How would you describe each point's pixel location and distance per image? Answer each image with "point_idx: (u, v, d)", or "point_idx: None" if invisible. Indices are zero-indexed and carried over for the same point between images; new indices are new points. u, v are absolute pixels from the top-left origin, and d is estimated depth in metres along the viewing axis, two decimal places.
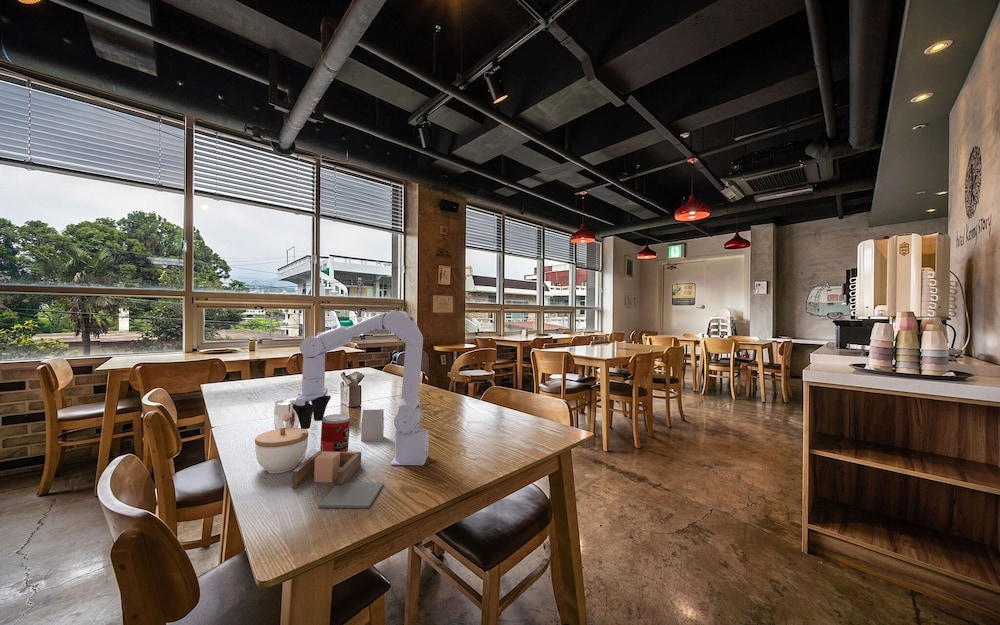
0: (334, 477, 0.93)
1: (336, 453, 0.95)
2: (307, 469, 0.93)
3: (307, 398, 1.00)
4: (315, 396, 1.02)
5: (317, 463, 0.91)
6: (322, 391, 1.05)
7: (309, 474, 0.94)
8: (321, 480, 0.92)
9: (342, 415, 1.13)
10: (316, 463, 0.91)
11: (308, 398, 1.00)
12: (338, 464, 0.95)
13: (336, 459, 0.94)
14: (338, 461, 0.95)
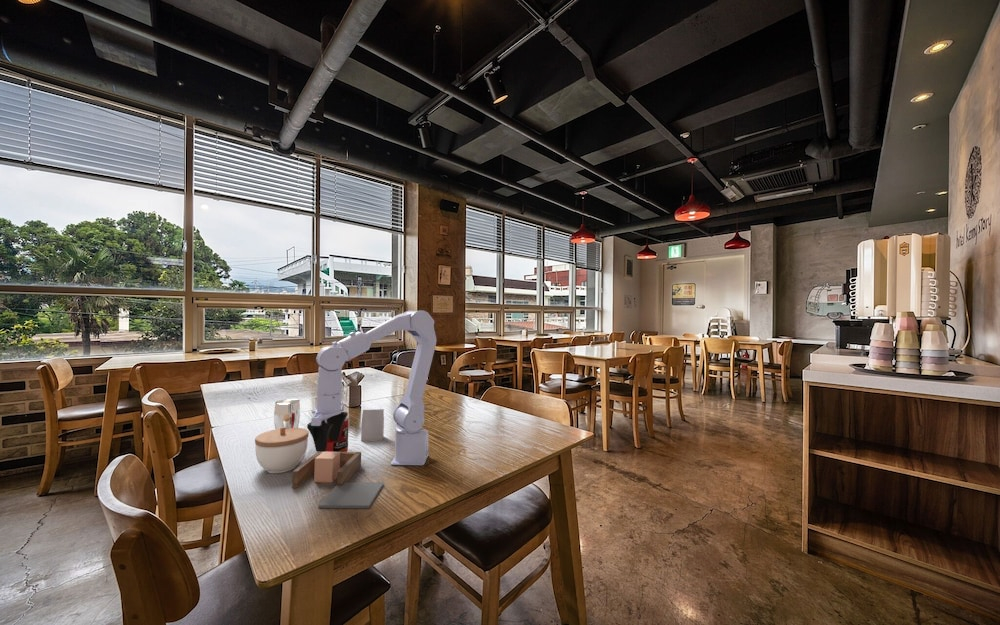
0: (334, 477, 0.93)
1: (336, 453, 0.95)
2: (307, 469, 0.93)
3: (323, 417, 0.88)
4: (332, 414, 0.91)
5: (317, 463, 0.91)
6: (339, 408, 0.94)
7: (309, 474, 0.94)
8: (321, 480, 0.92)
9: None
10: (316, 463, 0.91)
11: (324, 417, 0.89)
12: (338, 464, 0.95)
13: (336, 459, 0.94)
14: (338, 461, 0.95)
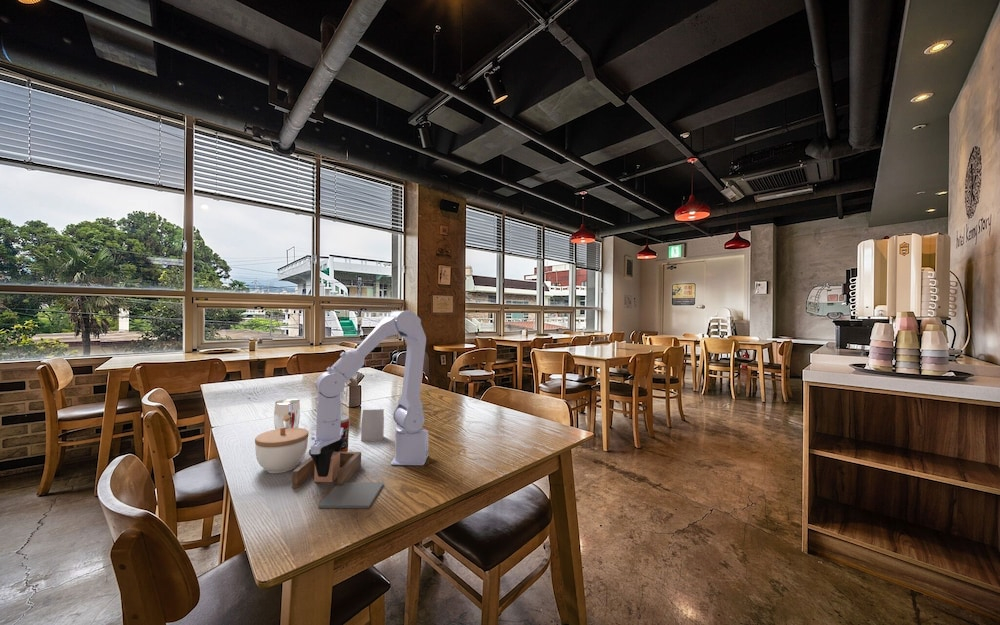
0: (334, 477, 0.93)
1: (336, 453, 0.95)
2: (307, 469, 0.93)
3: (323, 445, 0.88)
4: (331, 441, 0.91)
5: None
6: (338, 434, 0.94)
7: (309, 474, 0.94)
8: (321, 480, 0.92)
9: (341, 415, 1.13)
10: None
11: (324, 445, 0.89)
12: (338, 464, 0.95)
13: (336, 459, 0.94)
14: (338, 461, 0.95)
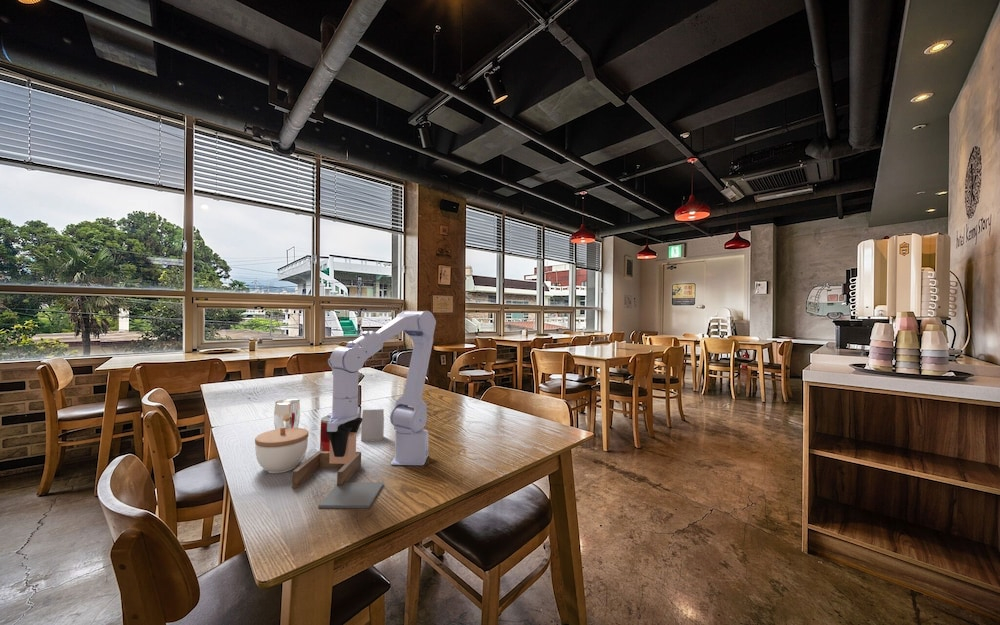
0: (350, 458, 0.87)
1: (352, 433, 0.89)
2: (307, 469, 0.93)
3: (340, 422, 0.83)
4: (348, 419, 0.85)
5: None
6: (356, 412, 0.88)
7: (309, 474, 0.94)
8: (336, 461, 0.86)
9: None
10: None
11: (341, 422, 0.83)
12: (354, 445, 0.89)
13: (352, 439, 0.88)
14: (354, 442, 0.89)
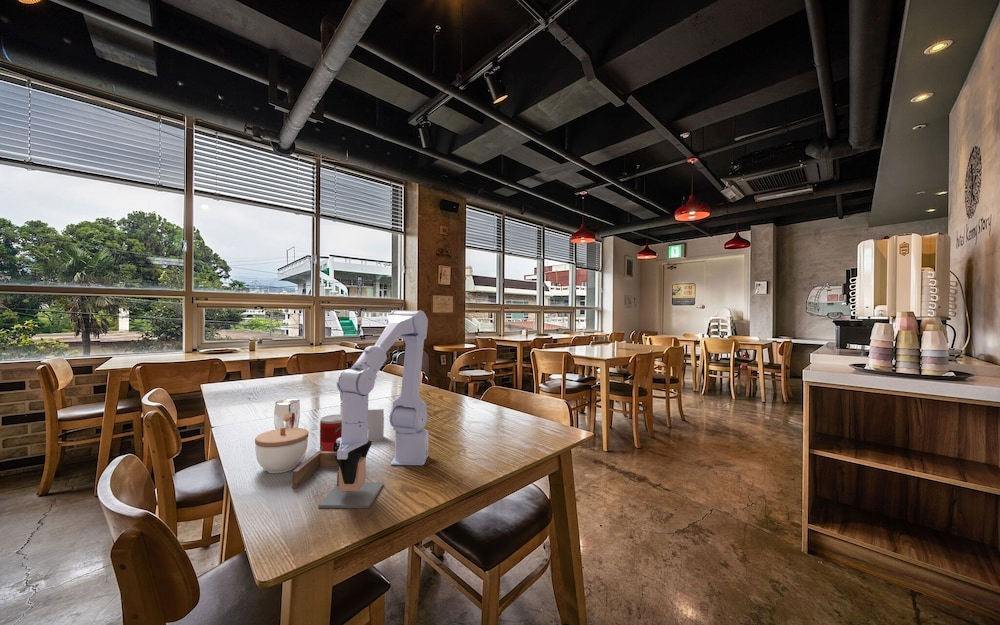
0: (360, 485, 0.84)
1: (362, 458, 0.86)
2: (307, 469, 0.93)
3: (350, 449, 0.80)
4: (358, 445, 0.82)
5: None
6: (366, 437, 0.85)
7: (309, 474, 0.94)
8: (346, 488, 0.83)
9: (340, 415, 1.13)
10: (340, 470, 0.83)
11: (351, 449, 0.80)
12: (363, 471, 0.86)
13: (362, 465, 0.85)
14: (364, 467, 0.86)
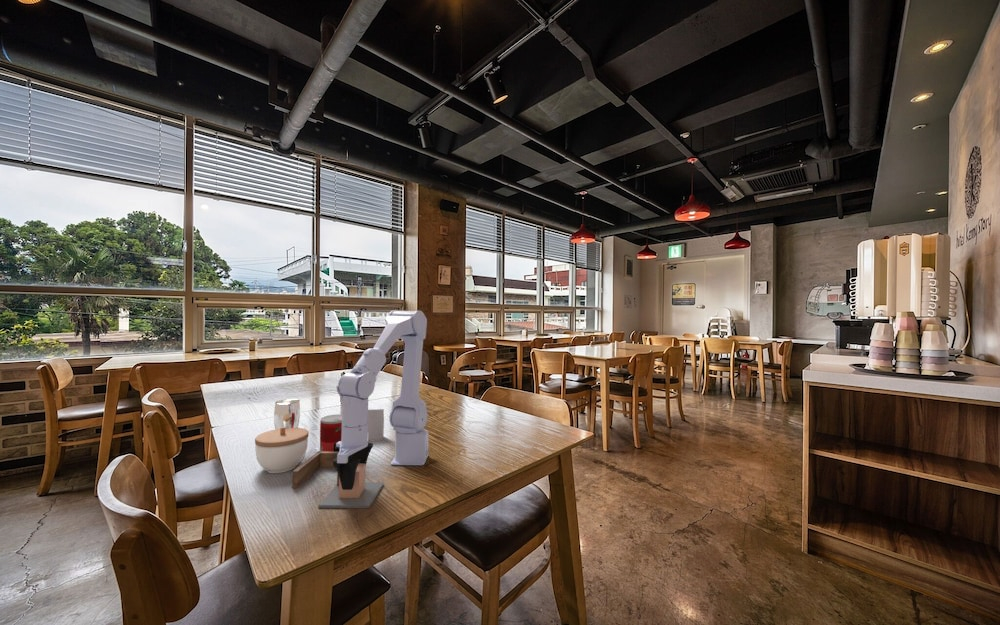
0: (360, 492, 0.84)
1: (361, 465, 0.86)
2: (307, 469, 0.93)
3: (350, 453, 0.80)
4: (358, 448, 0.82)
5: None
6: (366, 441, 0.85)
7: (309, 474, 0.94)
8: (346, 495, 0.83)
9: (340, 415, 1.13)
10: None
11: (351, 452, 0.80)
12: (363, 477, 0.86)
13: (362, 472, 0.85)
14: (363, 474, 0.86)
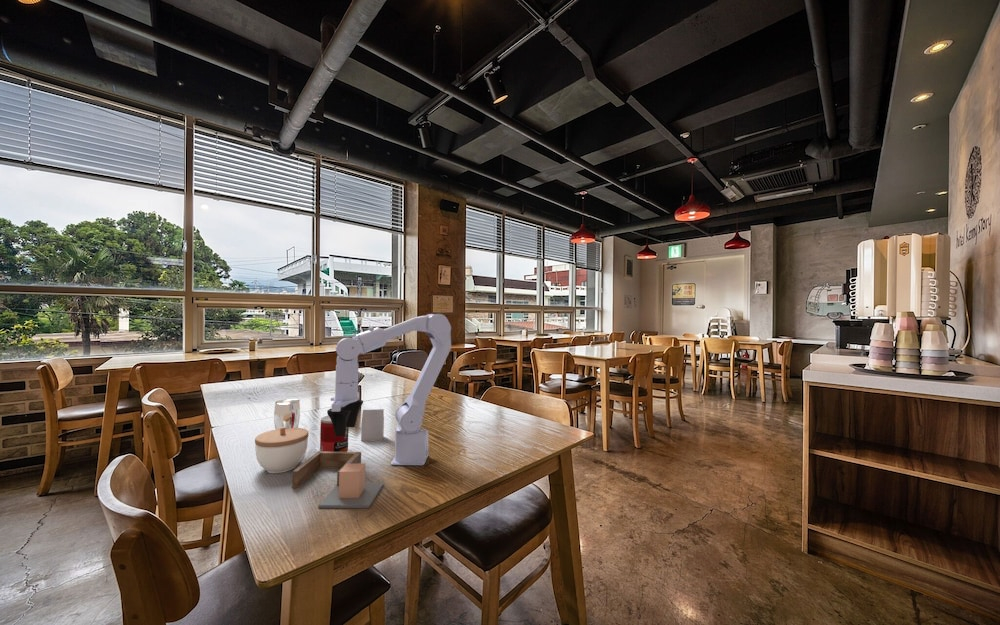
0: (360, 492, 0.84)
1: (361, 465, 0.86)
2: (307, 469, 0.93)
3: (342, 403, 0.94)
4: (350, 401, 0.96)
5: (342, 477, 0.83)
6: (356, 396, 0.99)
7: (309, 474, 0.94)
8: (346, 495, 0.83)
9: None
10: (340, 477, 0.83)
11: (343, 403, 0.94)
12: (363, 477, 0.86)
13: (362, 472, 0.85)
14: (363, 474, 0.86)
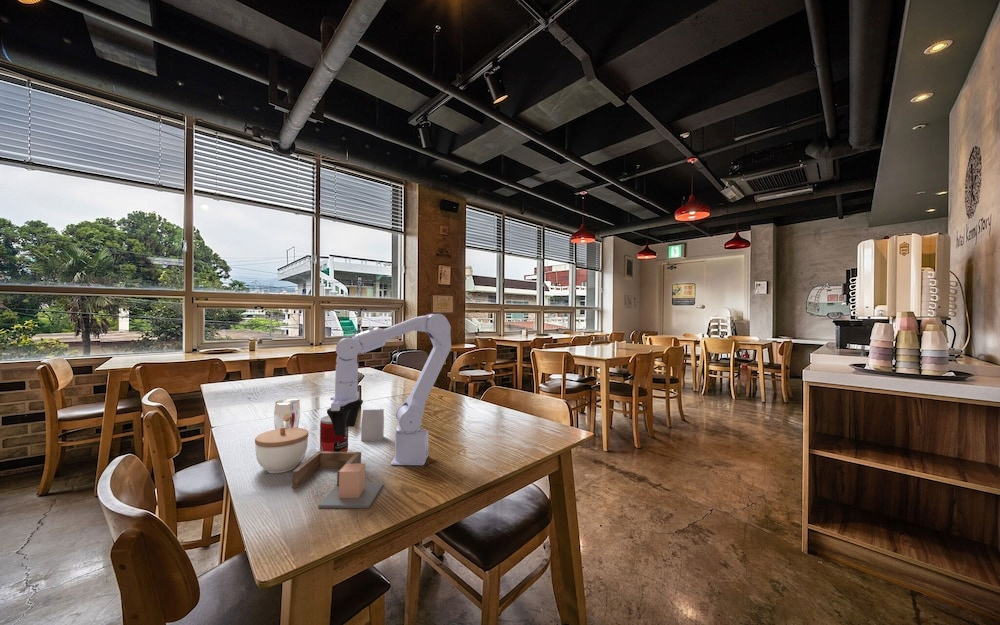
0: (360, 492, 0.84)
1: (361, 465, 0.86)
2: (307, 469, 0.93)
3: (342, 403, 0.94)
4: (349, 401, 0.97)
5: (342, 477, 0.83)
6: (356, 395, 1.00)
7: (309, 474, 0.94)
8: (346, 495, 0.83)
9: None
10: (340, 477, 0.83)
11: (343, 403, 0.95)
12: (363, 477, 0.86)
13: (362, 472, 0.85)
14: (363, 474, 0.86)
